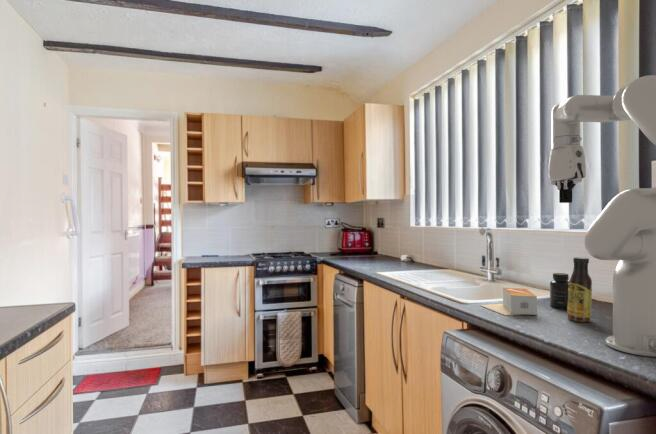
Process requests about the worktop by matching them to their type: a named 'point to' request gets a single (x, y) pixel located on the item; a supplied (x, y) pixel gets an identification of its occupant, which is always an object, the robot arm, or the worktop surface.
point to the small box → (519, 301)
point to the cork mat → (499, 309)
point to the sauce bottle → (580, 291)
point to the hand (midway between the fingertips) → (565, 202)
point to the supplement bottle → (559, 291)
